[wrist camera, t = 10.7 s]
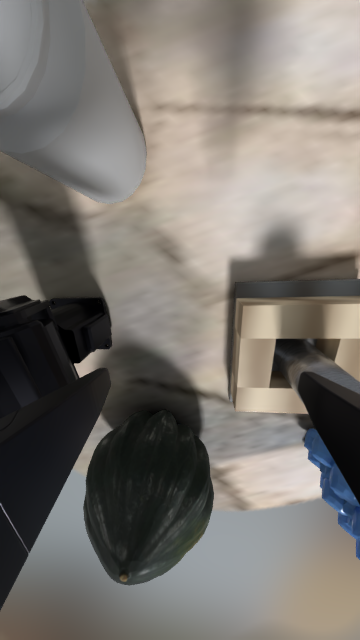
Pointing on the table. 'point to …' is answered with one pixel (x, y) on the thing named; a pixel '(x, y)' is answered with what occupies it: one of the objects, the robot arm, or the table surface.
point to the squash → (147, 496)
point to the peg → (309, 364)
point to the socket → (289, 336)
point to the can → (66, 101)
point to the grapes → (334, 486)
